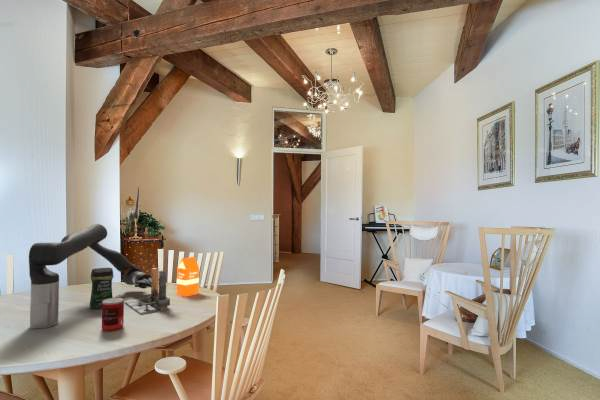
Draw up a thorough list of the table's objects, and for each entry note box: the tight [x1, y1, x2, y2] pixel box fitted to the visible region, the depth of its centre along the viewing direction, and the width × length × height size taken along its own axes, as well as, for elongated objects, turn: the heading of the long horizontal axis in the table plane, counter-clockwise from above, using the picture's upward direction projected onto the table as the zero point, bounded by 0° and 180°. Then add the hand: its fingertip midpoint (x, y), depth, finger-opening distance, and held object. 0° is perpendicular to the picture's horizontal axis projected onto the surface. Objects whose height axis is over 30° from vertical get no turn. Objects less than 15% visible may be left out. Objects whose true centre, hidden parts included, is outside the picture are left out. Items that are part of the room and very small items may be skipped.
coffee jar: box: [89, 267, 114, 310], centre depth 165 cm, size 10×8×19 cm
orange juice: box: [176, 256, 200, 297], centre depth 191 cm, size 8×9×20 cm
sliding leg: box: [137, 267, 160, 305], centre depth 168 cm, size 5×10×16 cm, turn 132°
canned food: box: [101, 297, 125, 332], centre depth 136 cm, size 8×8×11 cm
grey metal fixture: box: [124, 270, 171, 315], centre depth 167 cm, size 25×13×18 cm, turn 42°
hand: (153, 285), depth 171 cm, fingers closed
